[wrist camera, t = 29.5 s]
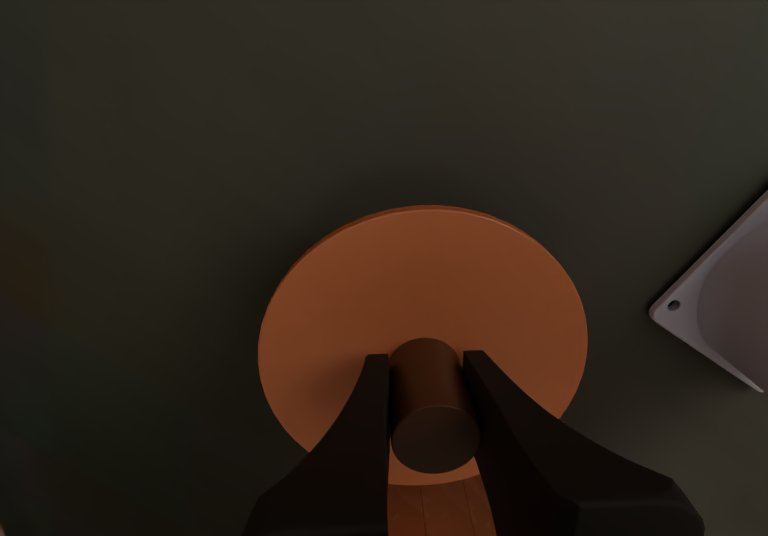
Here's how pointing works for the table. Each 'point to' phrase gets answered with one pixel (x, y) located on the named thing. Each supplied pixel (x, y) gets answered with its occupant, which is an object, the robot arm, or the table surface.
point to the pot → (440, 509)
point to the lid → (420, 330)
